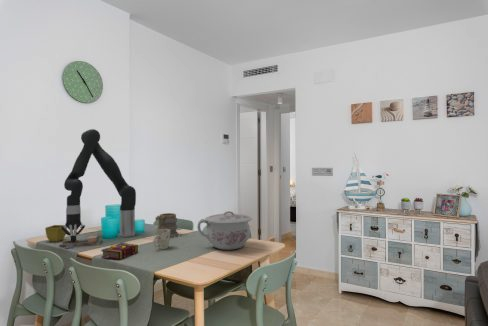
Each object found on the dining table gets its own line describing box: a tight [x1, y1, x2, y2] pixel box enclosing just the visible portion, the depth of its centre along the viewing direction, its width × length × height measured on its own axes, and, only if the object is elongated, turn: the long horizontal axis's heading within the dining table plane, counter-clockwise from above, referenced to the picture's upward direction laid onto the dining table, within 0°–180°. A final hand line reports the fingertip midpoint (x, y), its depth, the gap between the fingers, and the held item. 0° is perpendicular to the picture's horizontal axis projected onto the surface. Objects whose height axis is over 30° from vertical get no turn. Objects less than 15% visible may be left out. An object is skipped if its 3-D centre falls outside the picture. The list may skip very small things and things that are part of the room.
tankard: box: [154, 212, 179, 238], centre depth 210 cm, size 20×13×15 cm, turn 159°
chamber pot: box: [196, 211, 253, 251], centre depth 184 cm, size 28×28×21 cm
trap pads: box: [64, 238, 88, 250], centre depth 189 cm, size 5×20×1 cm, turn 0°
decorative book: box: [100, 242, 139, 260], centre depth 167 cm, size 11×16×5 cm
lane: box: [58, 232, 103, 248], centre depth 190 cm, size 22×10×5 cm, turn 110°
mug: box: [153, 229, 171, 250], centre depth 180 cm, size 8×13×10 cm, turn 161°
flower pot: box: [44, 224, 68, 243], centre depth 198 cm, size 9×9×9 cm
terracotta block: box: [87, 235, 97, 243], centre depth 192 cm, size 5×5×4 cm
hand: (73, 241), depth 189 cm, fingers closed
